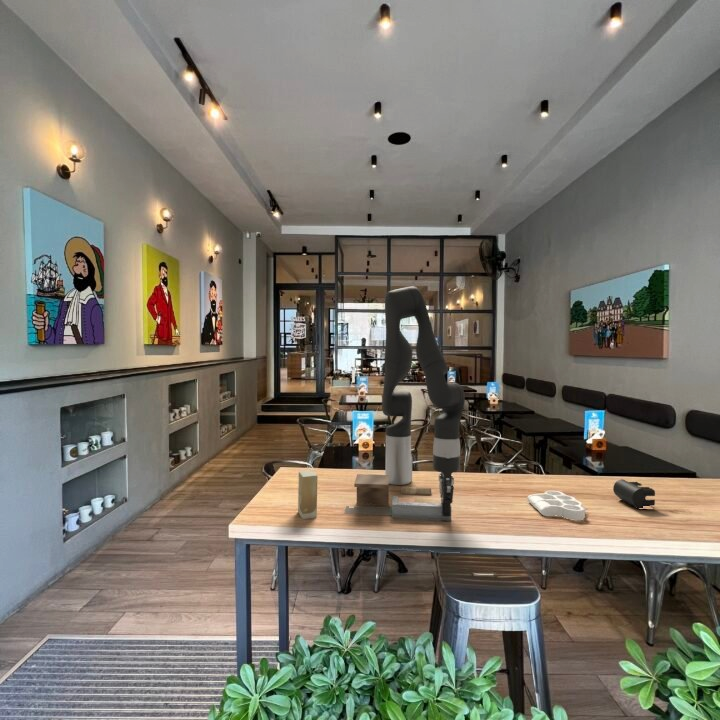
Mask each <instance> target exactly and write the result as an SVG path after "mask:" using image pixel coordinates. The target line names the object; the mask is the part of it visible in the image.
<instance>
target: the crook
mask: <svg viewBox="0 0 720 720" xmlns="http://www.w3.org/2000/svg"><path fill="white" fill-rule="evenodd" d="M398 498H399V496H398V495H392V507H391V508H392V515H391V517H392V519H398V520H415V521H416V520H417V521H418V520H419V521H421V520H422V521H439V520H444V521H443V522H452V514H451V515H450V516H449V517H448V516H443V515H442V504H441V503H437V502H436V503H435V502H433V503H432V502H416V501H415V502H398ZM445 520H446V521H445Z"/></svg>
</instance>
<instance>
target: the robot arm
mask: <svg viewBox="0 0 720 720" xmlns="http://www.w3.org/2000/svg"><path fill="white" fill-rule="evenodd" d="M384 315H385V316H384V317H385V350H384V378H383V379H384V382H383V389H382V390H383V391H382V398H381V399H382V401H381V407H382V408H381V410H382V413H383V415H385V416H387V417H402V418H401V419H400V420H399V421H398V422H396V423H392V424H390V425H388V426H386V428H385V473H384V475H389V485H393V486H405V485H409V484H410V483H411V482H412V481H413V455H412V452H411V451H412V448H411V447H412V440H411V439H412V410H413V398H412V394H411V392H410V391H405V390H403V391H400V390H395V388H396V387H397V385H398V384H399V383H400V382H401V381H402V380H403V379H404V378H405V377H406V376H407V375H408V374H409V372H410V370H412V364H413V353H414V352H413V348H412V345H411V343H410V342H409V341H408V340H407V339H406V337H405V336H404V335H403V333H402V331H401V320H404V319H407V318H412V317H414V318H415V320H416V322H417V327H418V330H417V331H418V332H417V339H416V345H415V352H416V353H415V354H416V359H417V361H418V362H419V365H420V367H421V370H422V372H423V373H424V377H425V385H426V389H427V390H426V391H427V396H428V398H429V400H430V402H431V403H432V404H433V406H434V407H436V408H438V409H441V412H440V414H439V415H437V416H436V417H435V419H434V422H433V423H434V424H433V425H434V427H433V428H434V429H433V431H434V432H433V433H434V434H433V443H432V447H433V448H432V469H433V470H434V471H436V472H439V474H438V483H439V484H438V487H439V488H438V489H439V493H440V495H439V496H440V501H441V503H440V504H442V515H443V516H448V517H449V516H450V515H451V516H452V504H453V502H454V501H453V498H454V489H455V487H454V485H455V478H454V476H453V475H452V474H454V473H457V472H459V471H460V470H461V442H460V427H461V426H460V422H461V418H462V415H463V411H464V408H465V401H466V399H465V398H466V397H465V396H466V395H465V392H464V388H463V387H462V386H461V385H460V384H459V383H458V382H447V380H446V376H445V375H446V374H447V373H448V371H449V368H448V364H447V362H446V360H445V357H444V356H443V353H442V351H441V349H440V347H439V344H438V342H437V339H436V336H435V332H434V330H433V325H432V322H431V319H430V315H429V312H428V308H427V305H426V301H425V298H424V296H423V295H422V292H421V291H420V289H419V288H418V287H416V286H413V285H412V286H411V285H410V286H405V287H401V288H397V289H393V290H389V291H388V292H387V293H386V294H385V298H384Z"/></svg>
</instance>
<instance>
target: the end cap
mask: <svg viewBox="0 0 720 720" xmlns="http://www.w3.org/2000/svg"><path fill="white" fill-rule="evenodd" d="M612 490H613V493H614V494H615V496H616V497H617V498H618V499H619V500H621V499H622V500H621V501H623V500H624V501H623V502H625V503H626V502H627V503H626V504H628V503H629V504H628V505H630V504H631V505H630V506H632V505H633V506H632V507H634V506H635V508H636V507H637V508H636V509H638V508H643V506H651V507H653V506H655V505H656V501H655V499H646V498H647V497H656V491H655V490H654V489H653V488H651V487H650V486H643V485H642V483H640V482H638V481H628V480H625V479H623V478H620V479H619V480H616V482H614V485H613V489H612Z"/></svg>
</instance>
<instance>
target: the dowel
mask: <svg viewBox="0 0 720 720" xmlns="http://www.w3.org/2000/svg"><path fill="white" fill-rule="evenodd" d="M400 494H401V495H426V496H427V495H428V496H432V487H418V486H417V487H415V486H401V487H400Z"/></svg>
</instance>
